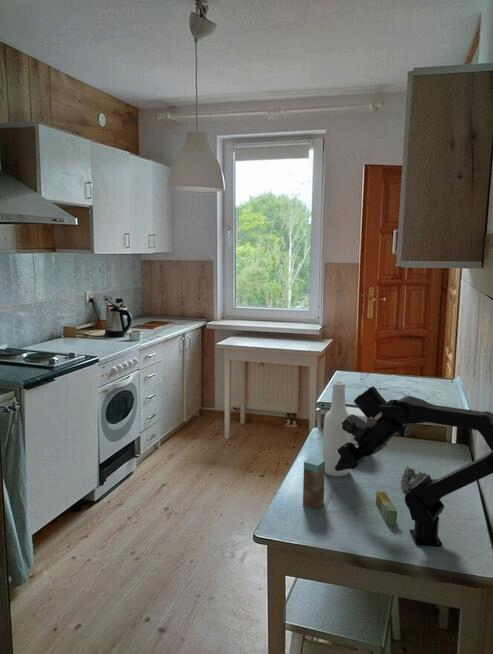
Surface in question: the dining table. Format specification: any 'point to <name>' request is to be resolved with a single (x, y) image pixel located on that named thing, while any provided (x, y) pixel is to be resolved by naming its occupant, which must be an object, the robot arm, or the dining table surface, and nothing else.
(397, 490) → the dining table surface
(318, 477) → the wooden block
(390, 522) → the medication box
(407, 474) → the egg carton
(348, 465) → the robot arm
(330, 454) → the alcohol
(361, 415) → the supplement box
